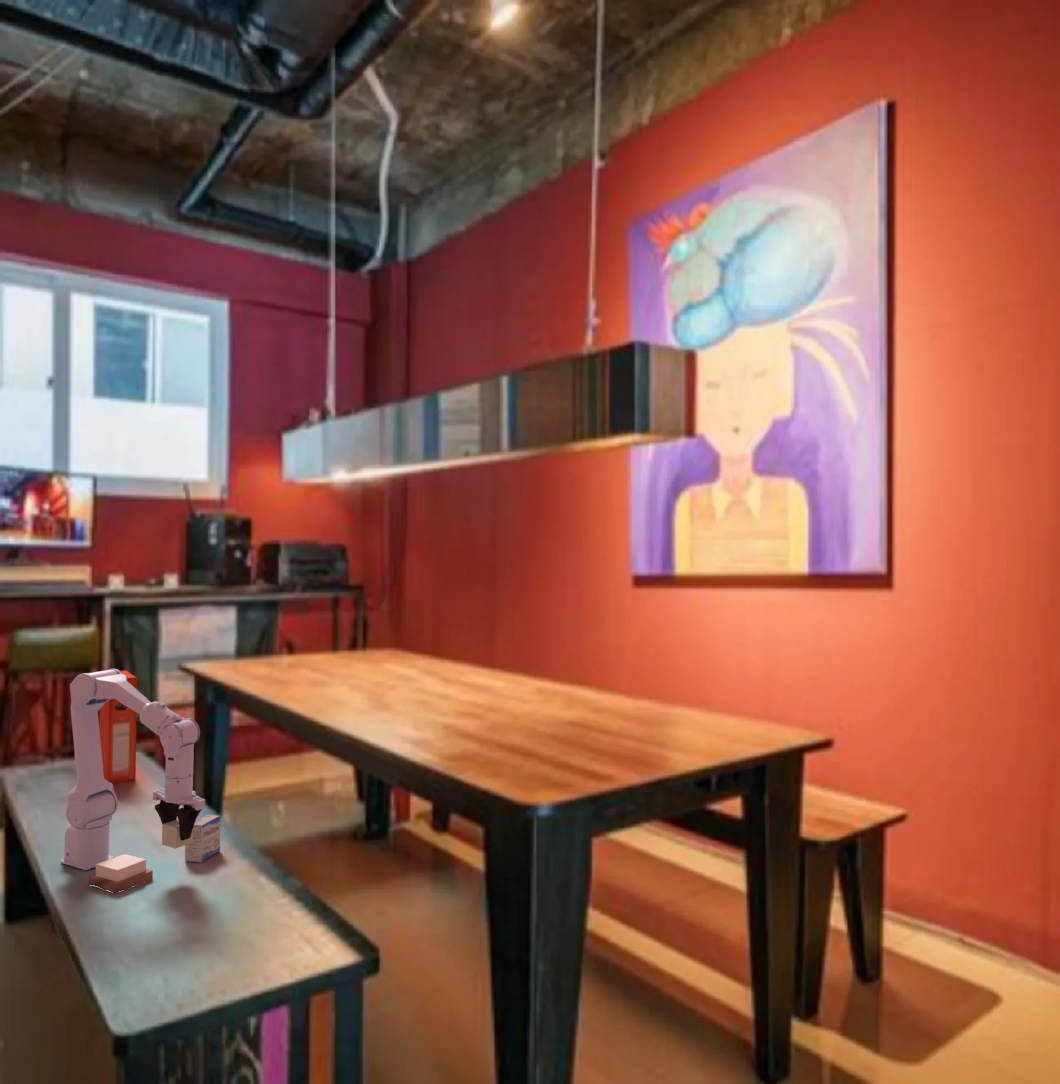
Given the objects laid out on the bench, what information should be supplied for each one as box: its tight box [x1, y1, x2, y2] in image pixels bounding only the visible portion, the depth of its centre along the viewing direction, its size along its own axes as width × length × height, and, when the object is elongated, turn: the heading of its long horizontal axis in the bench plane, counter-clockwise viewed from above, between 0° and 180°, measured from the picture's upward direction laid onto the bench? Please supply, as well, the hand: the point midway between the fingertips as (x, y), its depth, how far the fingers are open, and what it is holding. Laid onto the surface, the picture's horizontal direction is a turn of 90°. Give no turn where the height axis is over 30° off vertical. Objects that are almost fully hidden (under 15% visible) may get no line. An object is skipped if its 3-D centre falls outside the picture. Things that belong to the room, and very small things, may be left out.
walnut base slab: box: [87, 868, 154, 894], centre depth 182 cm, size 9×9×2 cm
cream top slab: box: [95, 853, 147, 882], centre depth 182 cm, size 7×7×2 cm
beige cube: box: [161, 818, 193, 849], centre depth 185 cm, size 4×4×4 cm
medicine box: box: [184, 814, 222, 863], centre depth 198 cm, size 8×4×9 cm, turn 168°
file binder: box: [99, 670, 138, 784], centre depth 266 cm, size 8×17×32 cm, turn 36°
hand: (177, 837), depth 185 cm, fingers closed on beige cube, 4 cm apart
